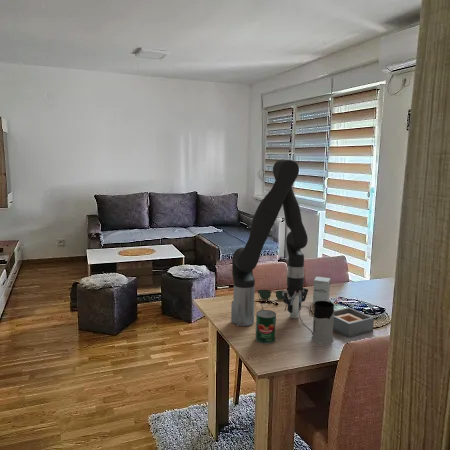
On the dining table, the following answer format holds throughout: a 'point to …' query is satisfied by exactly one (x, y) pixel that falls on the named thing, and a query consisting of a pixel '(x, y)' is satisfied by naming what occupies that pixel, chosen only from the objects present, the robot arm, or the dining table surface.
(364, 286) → the dining table surface
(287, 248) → the robot arm
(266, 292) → the sunglasses
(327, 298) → the supplement box
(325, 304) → the mug
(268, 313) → the canned tomato
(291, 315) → the peg
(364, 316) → the walled box
